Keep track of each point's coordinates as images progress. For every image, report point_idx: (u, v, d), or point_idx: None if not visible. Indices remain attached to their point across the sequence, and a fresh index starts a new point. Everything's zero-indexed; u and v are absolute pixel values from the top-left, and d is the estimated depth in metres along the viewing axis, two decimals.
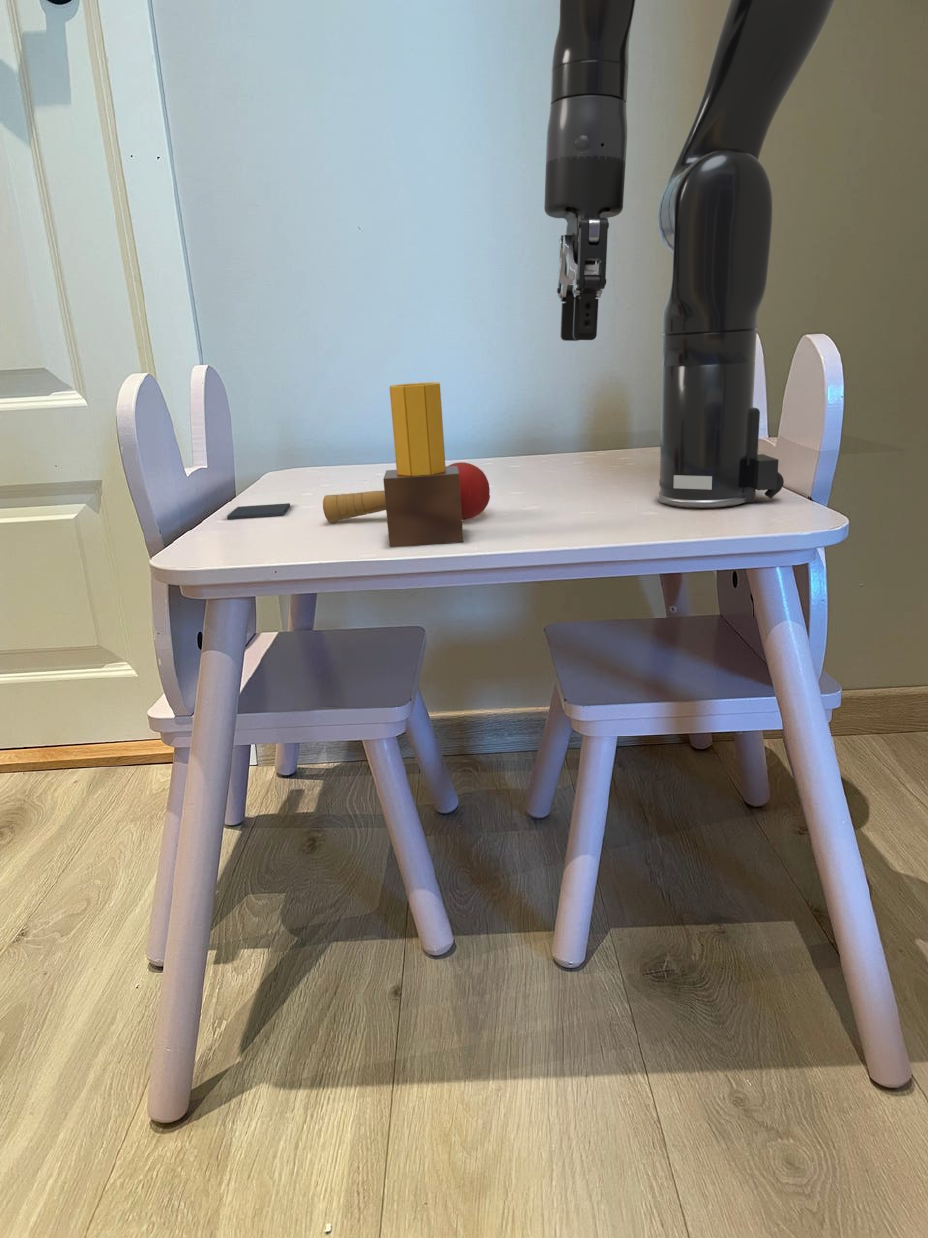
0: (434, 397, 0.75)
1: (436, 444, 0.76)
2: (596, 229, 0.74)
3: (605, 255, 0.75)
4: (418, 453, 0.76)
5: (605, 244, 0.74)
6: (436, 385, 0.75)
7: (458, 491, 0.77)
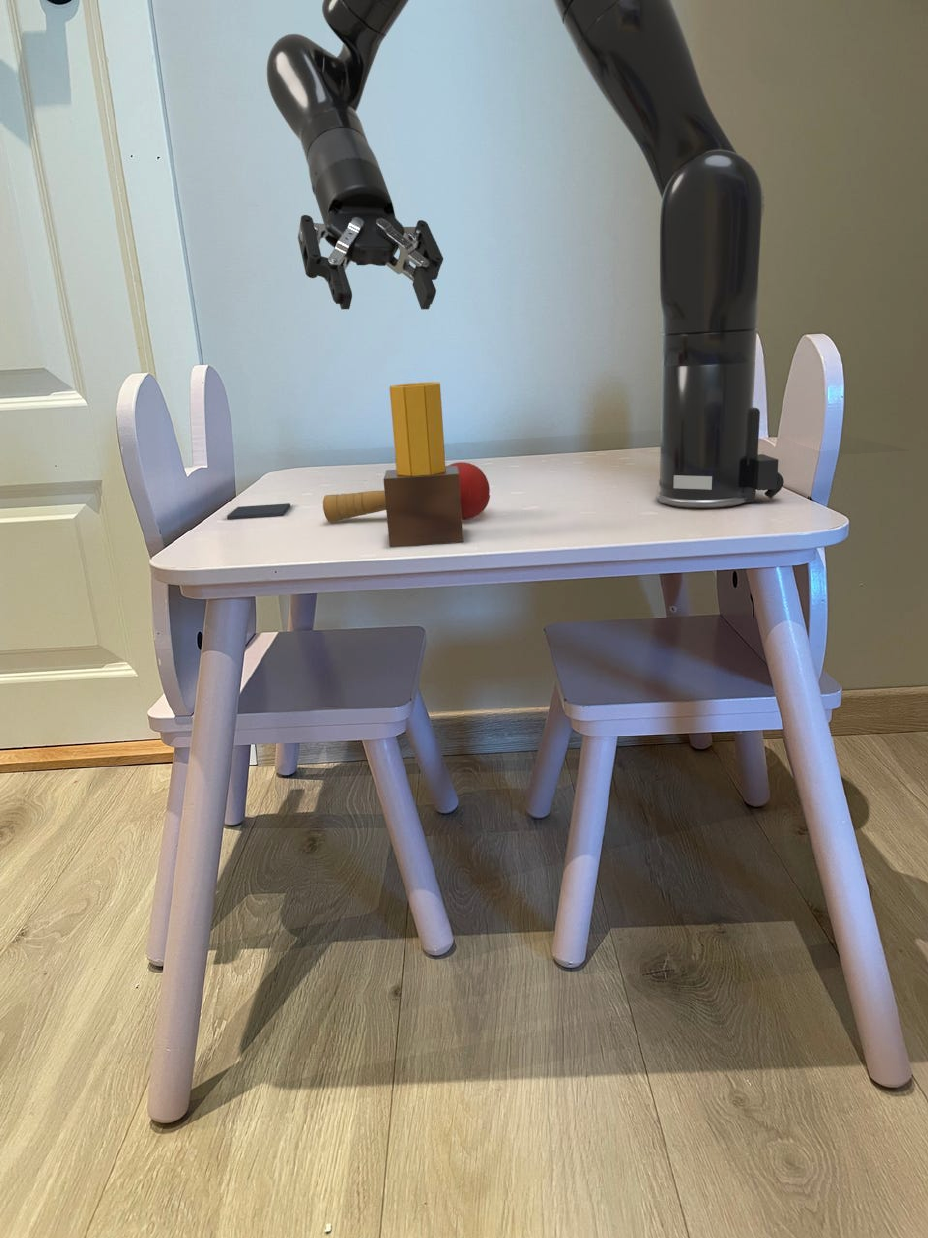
0: (434, 397, 0.75)
1: (436, 444, 0.76)
2: (300, 230, 0.83)
3: (305, 238, 0.82)
4: (418, 453, 0.76)
5: (303, 232, 0.82)
6: (436, 385, 0.75)
7: (458, 491, 0.77)
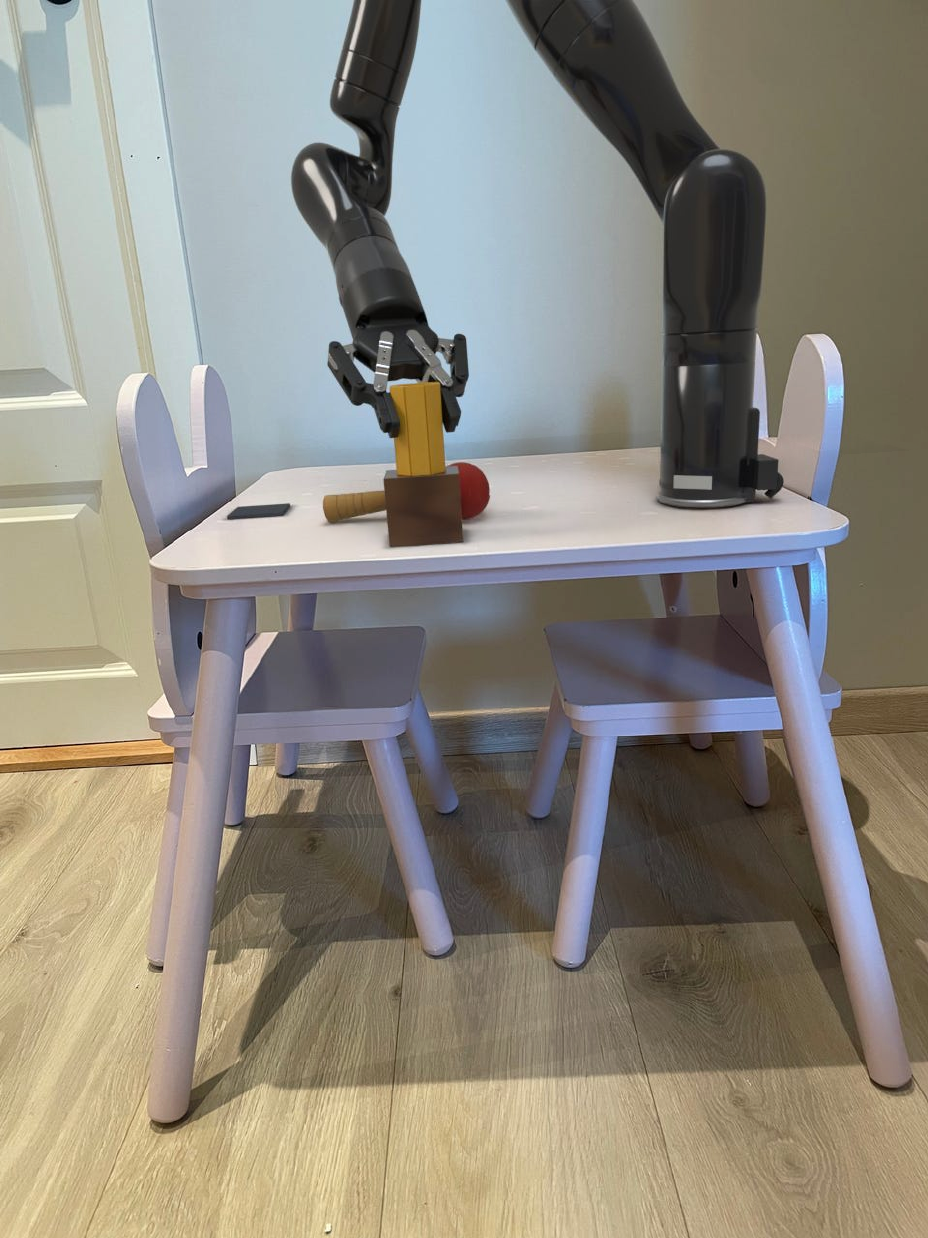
0: (434, 397, 0.75)
1: (436, 444, 0.76)
2: (331, 359, 0.77)
3: (342, 368, 0.75)
4: (418, 453, 0.76)
5: (337, 361, 0.76)
6: (436, 385, 0.75)
7: (458, 491, 0.77)
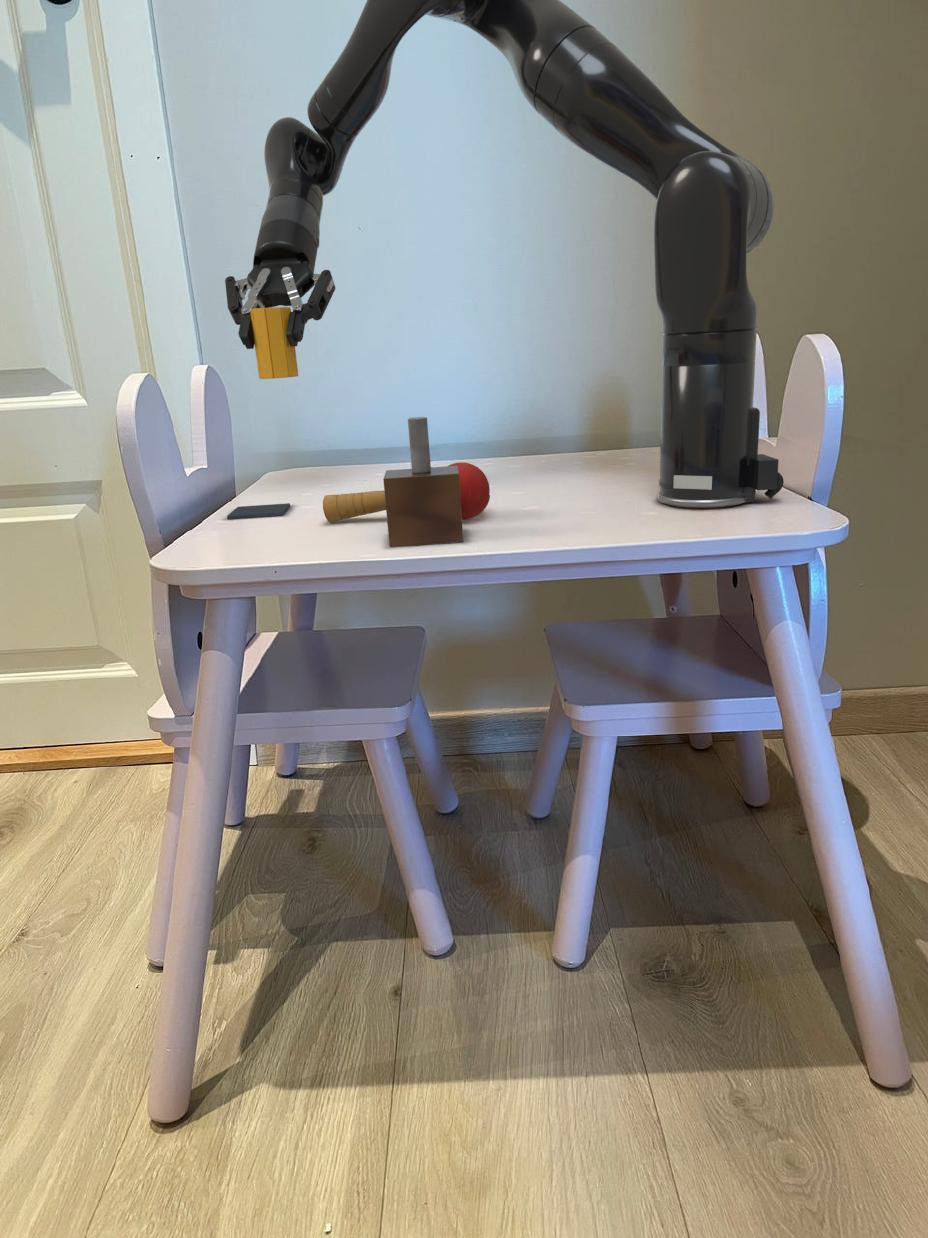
0: (275, 317, 0.98)
1: (278, 354, 0.99)
2: None
3: None
4: (264, 360, 0.99)
5: None
6: (277, 308, 0.97)
7: (458, 491, 0.77)
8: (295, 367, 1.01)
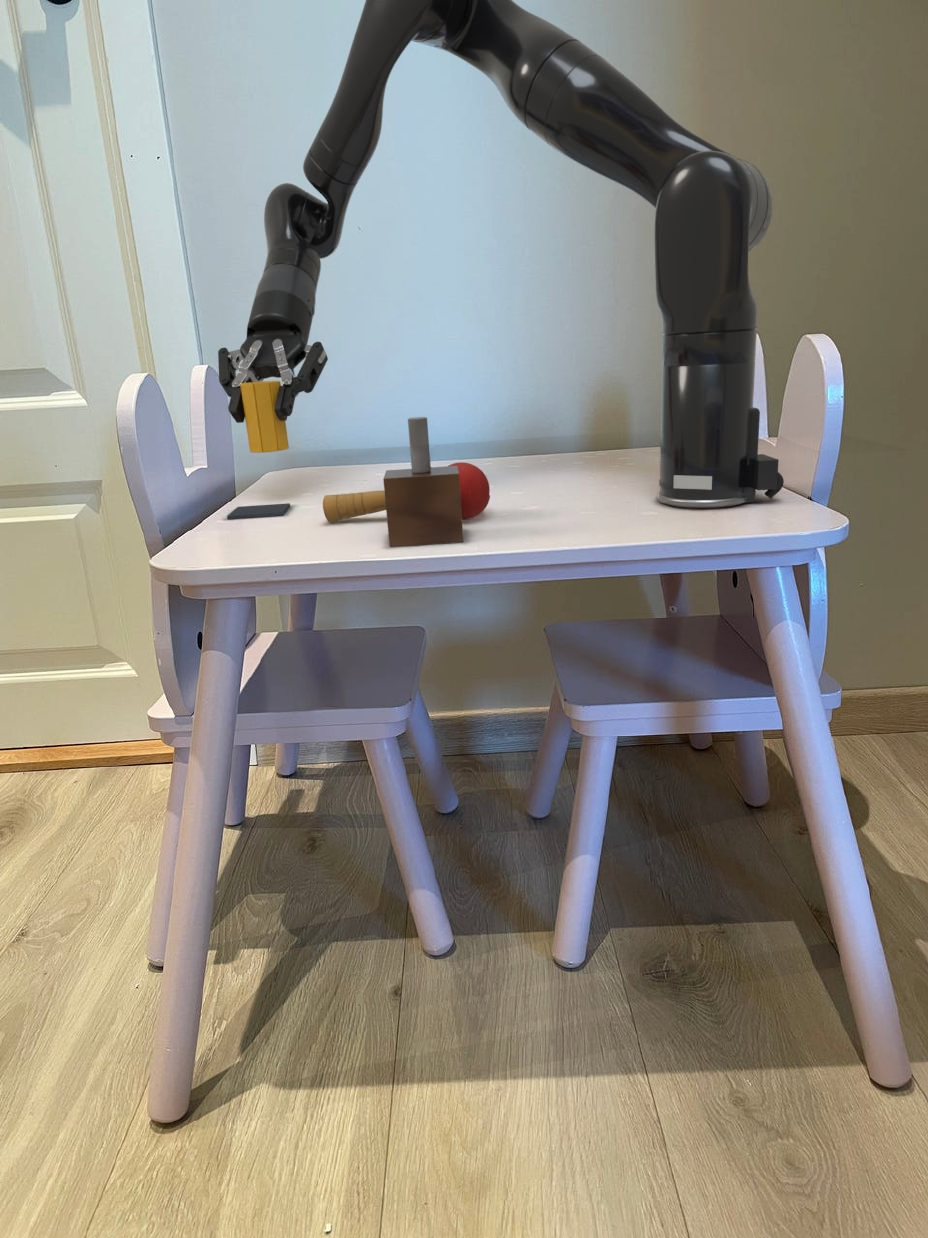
0: (264, 393, 0.97)
1: (267, 429, 0.98)
2: None
3: None
4: (253, 435, 0.99)
5: (219, 363, 1.02)
6: (265, 383, 0.97)
7: (458, 491, 0.77)
8: (285, 440, 1.00)
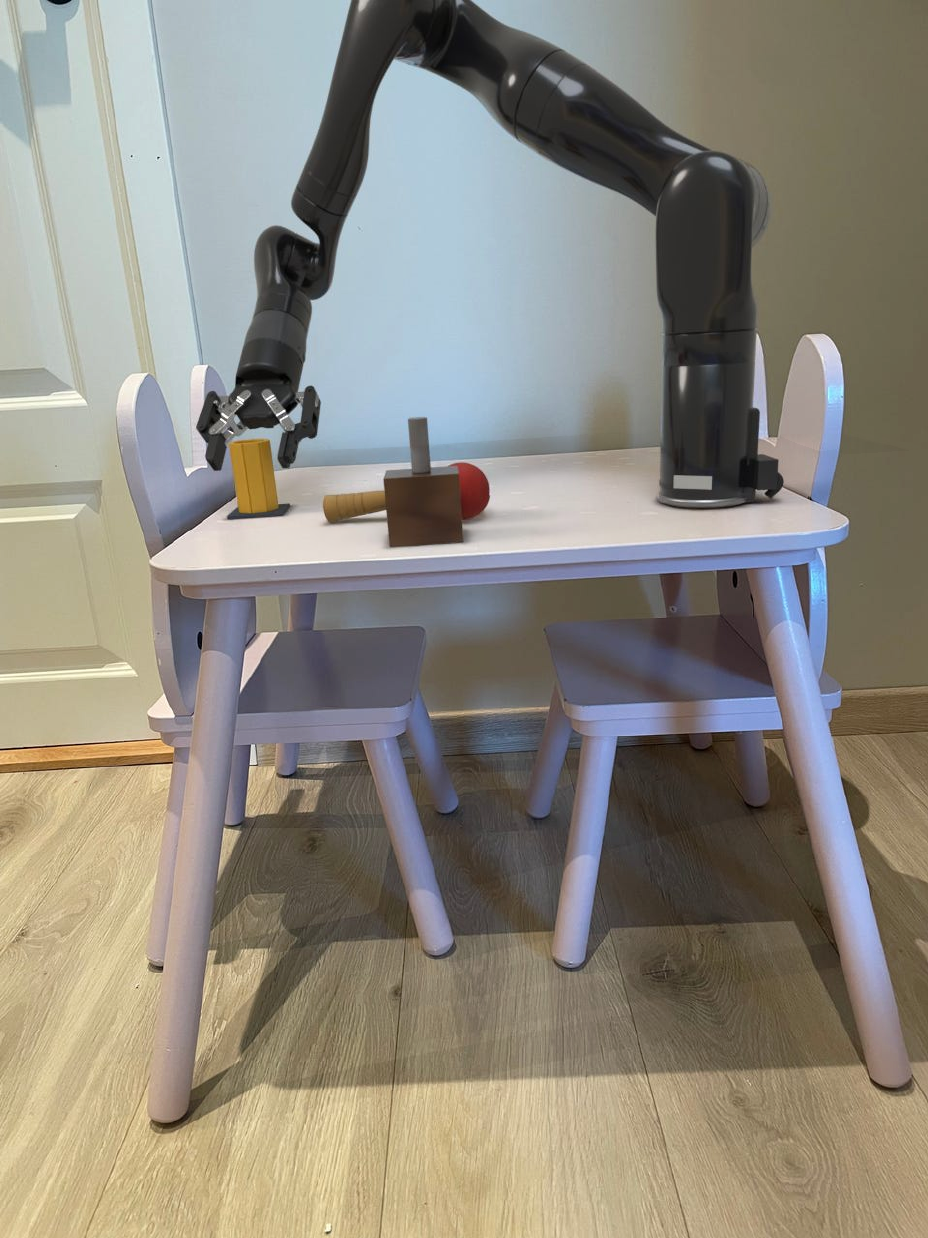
0: (252, 453, 0.94)
1: (256, 490, 0.95)
2: None
3: (201, 412, 0.99)
4: (242, 495, 0.96)
5: None
6: (254, 444, 0.94)
7: (458, 491, 0.77)
8: (275, 500, 0.97)
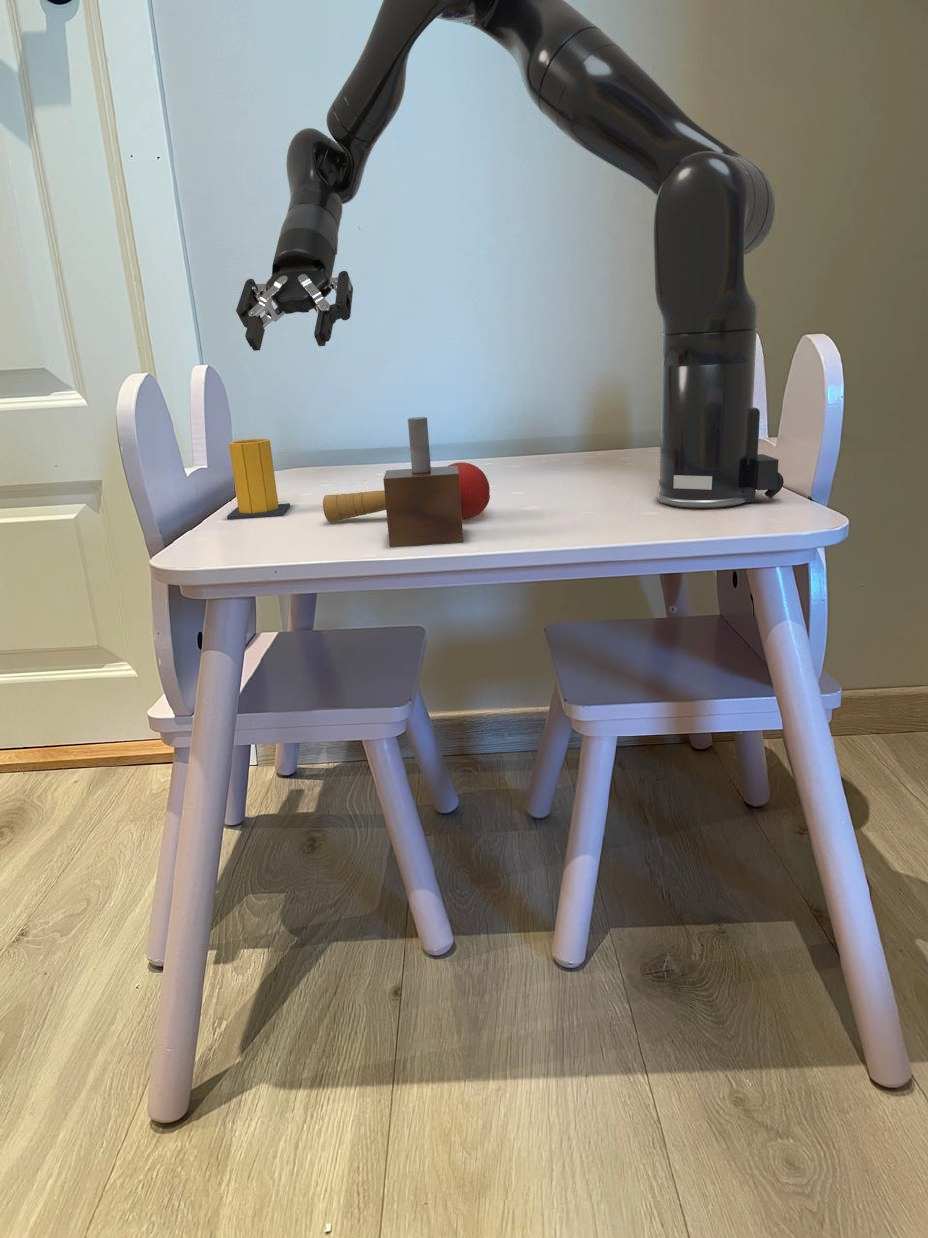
0: (252, 453, 0.94)
1: (256, 490, 0.95)
2: None
3: None
4: (242, 495, 0.96)
5: None
6: (254, 444, 0.94)
7: (458, 491, 0.77)
8: (275, 500, 0.97)
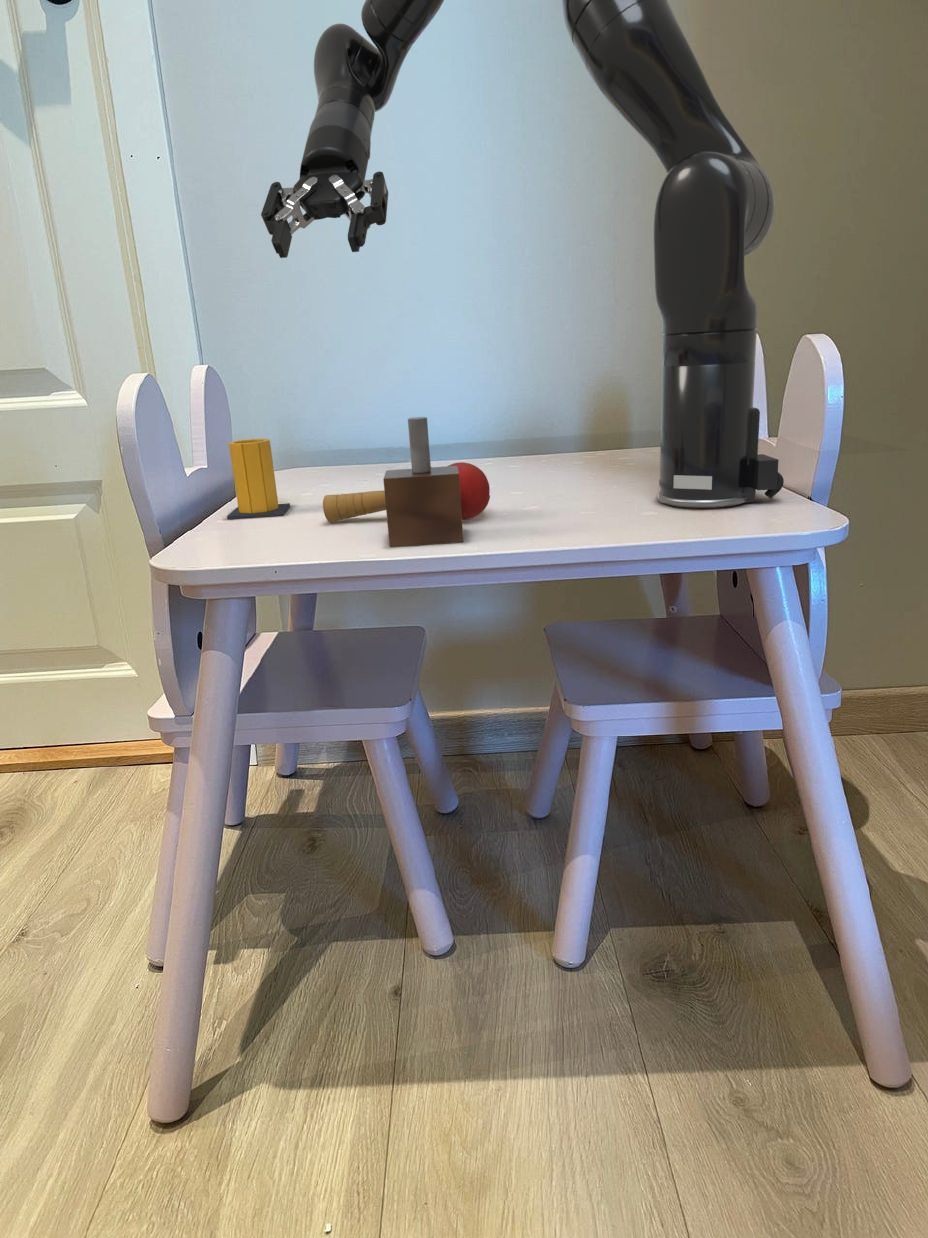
0: (252, 453, 0.94)
1: (256, 490, 0.95)
2: None
3: (265, 201, 0.96)
4: (242, 495, 0.96)
5: None
6: (254, 444, 0.94)
7: (458, 491, 0.77)
8: (275, 500, 0.97)
